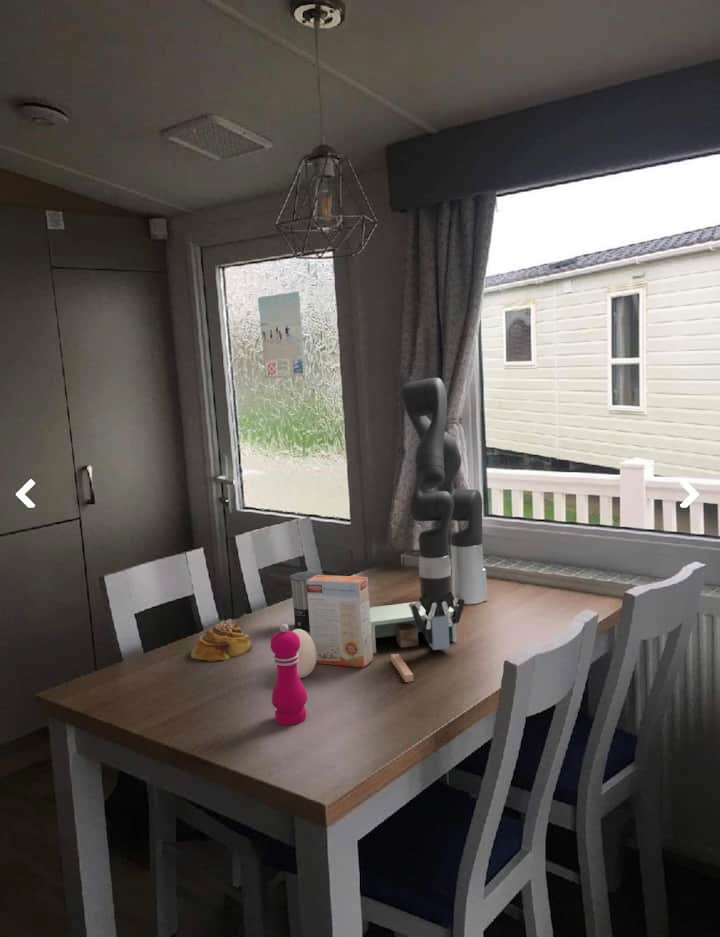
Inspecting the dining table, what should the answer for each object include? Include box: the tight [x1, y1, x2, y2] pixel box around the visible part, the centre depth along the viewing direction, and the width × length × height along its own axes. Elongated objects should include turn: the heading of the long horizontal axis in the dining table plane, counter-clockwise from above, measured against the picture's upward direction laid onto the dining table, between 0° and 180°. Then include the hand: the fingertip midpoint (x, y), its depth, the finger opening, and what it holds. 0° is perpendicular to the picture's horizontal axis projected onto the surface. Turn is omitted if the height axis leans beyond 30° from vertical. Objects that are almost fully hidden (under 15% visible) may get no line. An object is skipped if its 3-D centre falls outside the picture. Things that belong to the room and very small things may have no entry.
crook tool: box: [403, 614, 451, 651], centre depth 201 cm, size 16×7×8 cm, turn 12°
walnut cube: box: [395, 623, 419, 649], centre depth 203 cm, size 4×4×4 cm
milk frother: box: [289, 570, 324, 632], centre depth 223 cm, size 14×16×15 cm
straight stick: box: [390, 653, 414, 683], centre depth 185 cm, size 2×14×2 cm, turn 11°
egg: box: [291, 629, 317, 679], centre depth 185 cm, size 8×8×11 cm
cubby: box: [370, 601, 458, 654], centre depth 206 cm, size 22×12×8 cm, turn 102°
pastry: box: [190, 618, 253, 662], centre depth 206 cm, size 13×15×8 cm
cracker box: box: [306, 574, 374, 668], centre depth 193 cm, size 14×6×21 cm, turn 65°
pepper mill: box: [270, 623, 308, 726], centre depth 162 cm, size 7×7×20 cm
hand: (438, 641), depth 196 cm, fingers closed on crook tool, 4 cm apart
